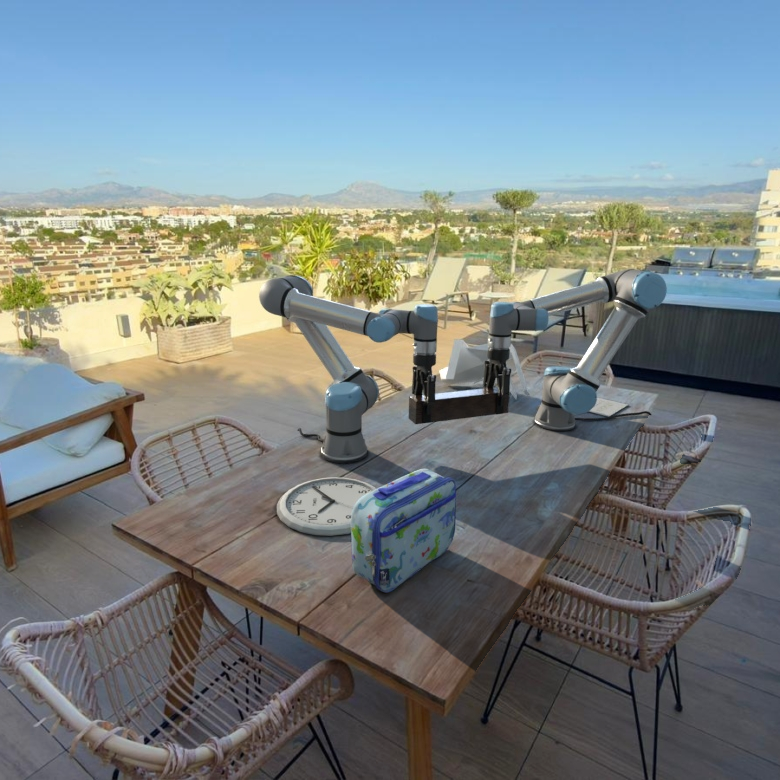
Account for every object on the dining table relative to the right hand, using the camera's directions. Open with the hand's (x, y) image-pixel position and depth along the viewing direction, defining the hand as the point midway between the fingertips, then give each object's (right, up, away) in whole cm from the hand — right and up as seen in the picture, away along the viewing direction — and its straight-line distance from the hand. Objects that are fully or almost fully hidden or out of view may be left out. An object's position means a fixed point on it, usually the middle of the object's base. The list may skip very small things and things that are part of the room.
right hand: (494, 410), depth 187 cm
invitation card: (+54, 0, +39) cm, 67 cm away
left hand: (-26, -3, -10) cm, 28 cm away
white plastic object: (+4, +6, +56) cm, 56 cm away
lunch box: (-34, -32, -70) cm, 84 cm away
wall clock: (-53, -24, -45) cm, 73 cm away
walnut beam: (-13, -2, -5) cm, 14 cm away
